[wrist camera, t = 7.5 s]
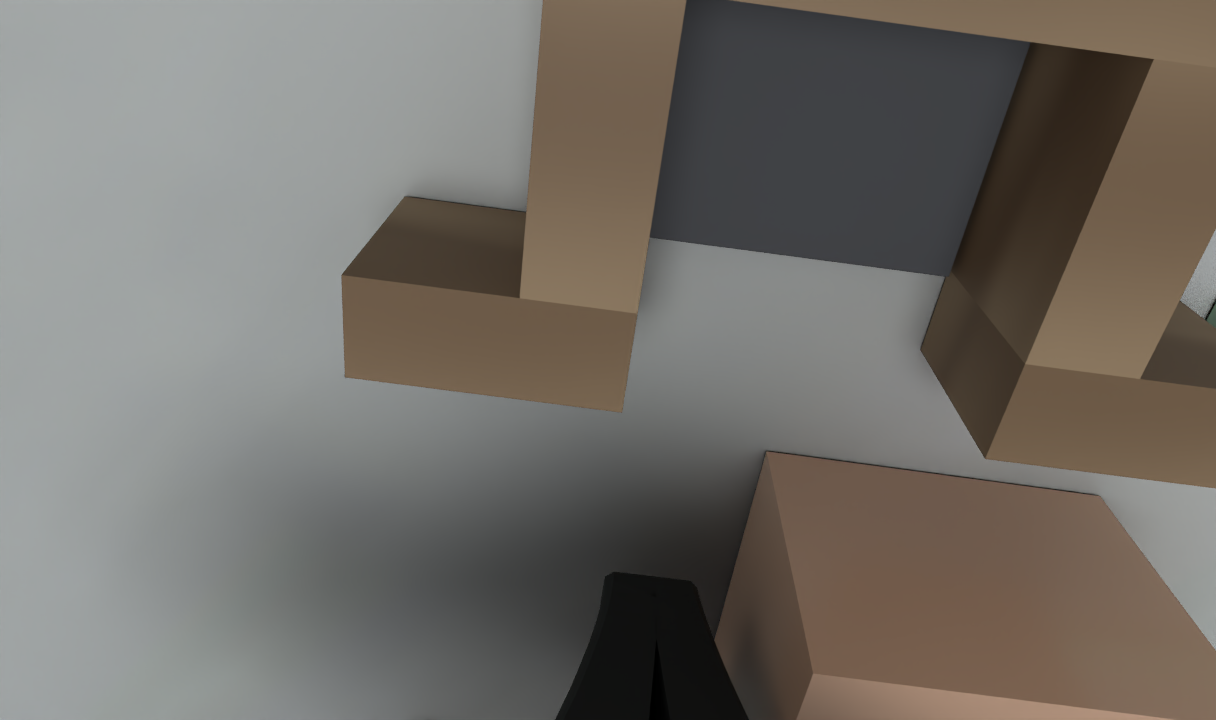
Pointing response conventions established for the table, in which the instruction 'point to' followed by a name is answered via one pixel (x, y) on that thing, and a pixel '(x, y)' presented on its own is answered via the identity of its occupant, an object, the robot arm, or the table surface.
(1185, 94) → the channel
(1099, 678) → the block
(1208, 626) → the table surface
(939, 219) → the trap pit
